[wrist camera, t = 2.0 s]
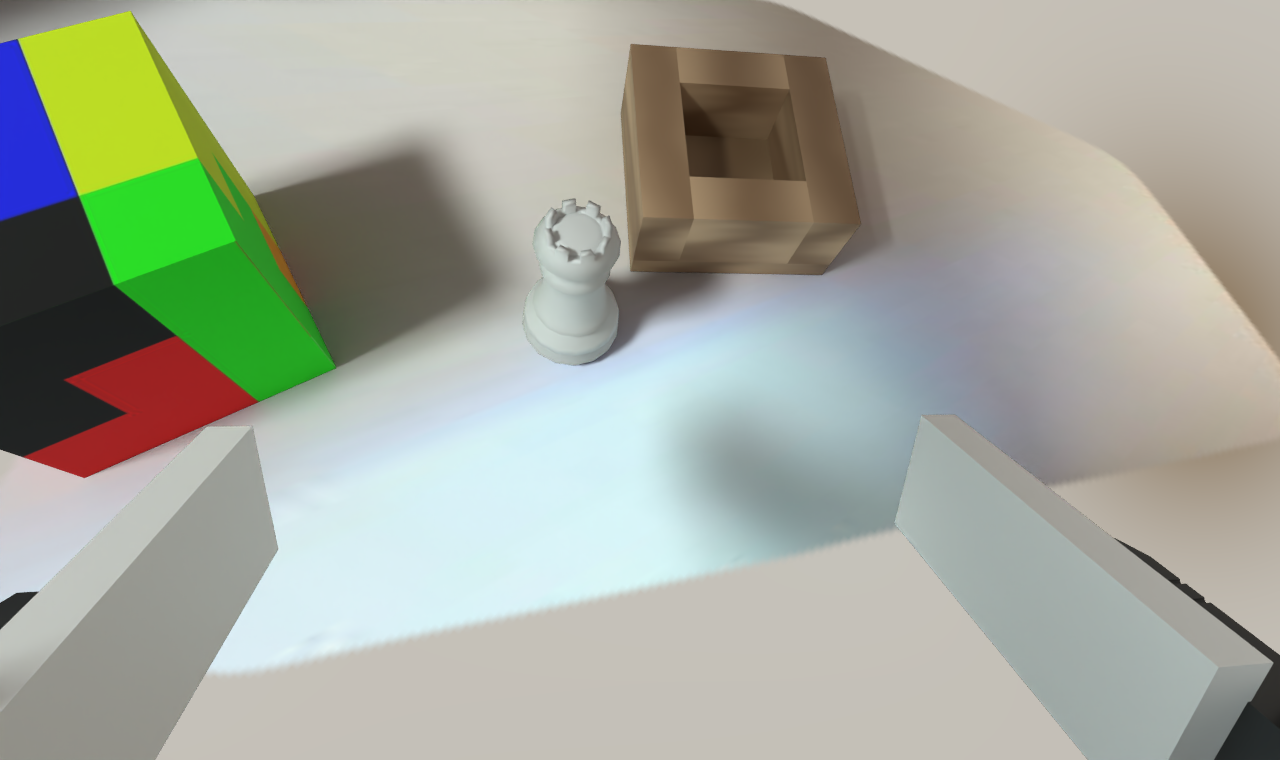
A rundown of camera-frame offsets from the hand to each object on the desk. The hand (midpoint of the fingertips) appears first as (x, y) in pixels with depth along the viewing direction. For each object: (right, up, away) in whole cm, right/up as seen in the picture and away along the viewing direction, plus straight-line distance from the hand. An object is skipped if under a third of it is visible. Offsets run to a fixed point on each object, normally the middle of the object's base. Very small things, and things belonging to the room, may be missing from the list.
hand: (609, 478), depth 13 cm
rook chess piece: (-3, +4, +18) cm, 18 cm away
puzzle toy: (-20, +4, +15) cm, 25 cm away
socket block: (+5, +12, +22) cm, 25 cm away
